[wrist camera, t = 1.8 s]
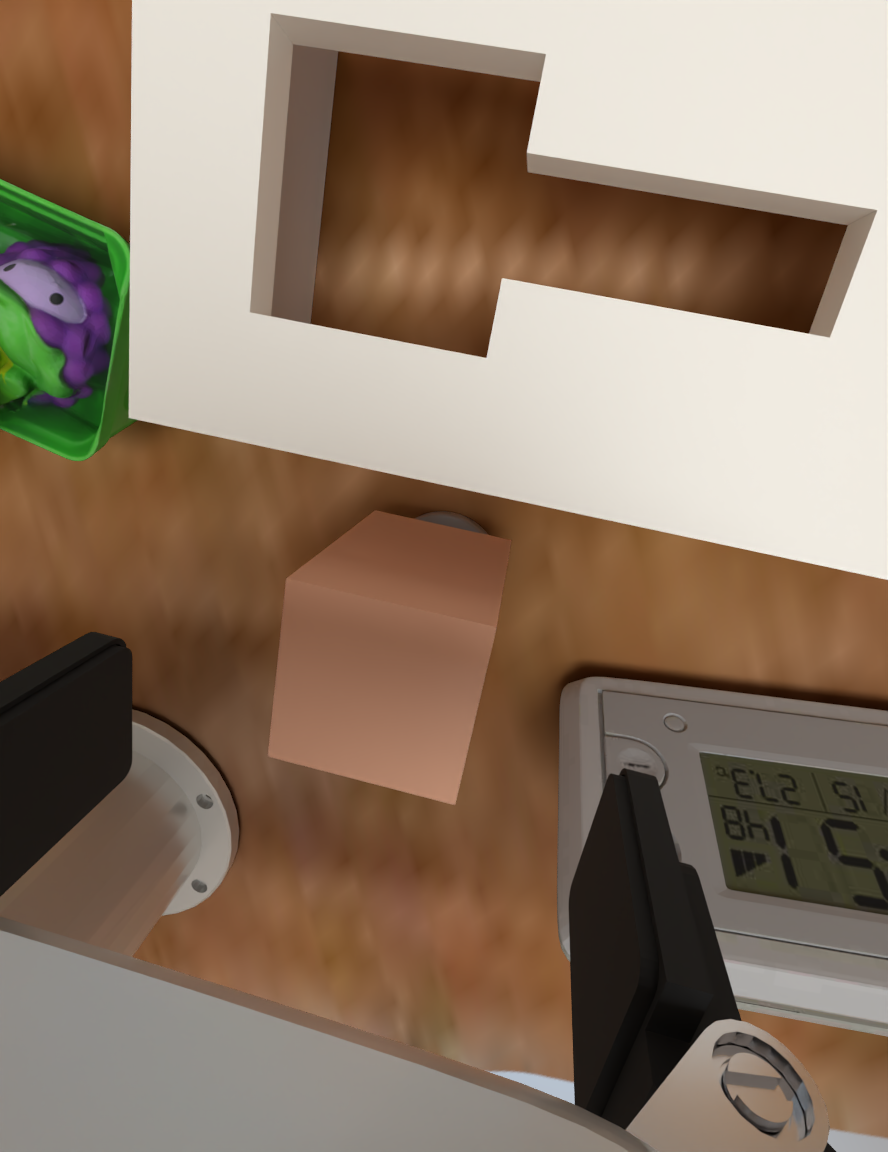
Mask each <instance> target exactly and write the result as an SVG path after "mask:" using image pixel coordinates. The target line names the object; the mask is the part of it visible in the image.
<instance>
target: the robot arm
mask: <svg viewBox="0 0 888 1152" xmlns="http://www.w3.org/2000/svg"><path fill="white" fill-rule="evenodd" d="M238 839H239V825H238V818H237V811H236V808H235V805H234V802H233V800H232V797H231V794H230V791H229V789H228V788H227V786H226V784H225V782H224V780H223V779H222V777H221V775H220V773H219V772H218V770H217V769H216V768H215V767H214V765H213V764H212V763H211V762H210V760H209V759H208V758H207V757H206V755H205V754H204V753H203V752H202V751H201V750H200V749H199V748H198V747H196V746H195V745H194V744H193V743H192V742H191V741H190V740H189V739H188V738H187V737H185V736H184V735H182V734H181V733H179V732H178V731H177V730H175V729H174V728H172V727H171V726H169V725H168V724H166V723H164V722H162V721H160V720H158V719H156V718H154V717H152V716H150V715H148V714H146V713H143V712H140V711H136V710H133V709H132V653H131V651H130V650H129V649H128V648H126V644H125V642H124V641H123V640H122V639H120V638H116V637H112V636H108V635H104V634H100V633H97V632H90V633H88V634H85V635H84V636H82V637H80V638H78V639H77V640H75V641H73V642H71V643H69V644H68V645H66V646H64V647H62V648H60V649H59V650H57V651H55V652H53V653H52V654H50V655H48V656H46V657H44V658H43V659H41V660H39V661H37V662H35V663H34V664H32V665H30V666H28V667H26V668H25V669H23V670H21V671H19V672H18V673H16V674H14V675H12V676H10V677H9V678H7V679H5V680H3V681H1V682H0V1152H836V1151H835V1150H834V1149H833V1148H832V1147H831V1146H830V1145H829V1144H828V1143H827V1140H828V1135H829V1129H830V1126H829V1120H828V1115H827V1109H826V1105H825V1103H824V1101H823V1099H822V1096H821V1094H820V1092H819V1090H818V1087H817V1085H816V1084H815V1082H814V1081H813V1079H812V1078H811V1076H810V1075H809V1073H808V1072H807V1070H806V1069H805V1067H804V1066H803V1064H802V1063H801V1062H800V1061H799V1060H798V1059H797V1058H796V1057H795V1056H794V1055H793V1054H792V1053H791V1052H790V1051H789V1050H788V1049H787V1048H786V1046H784V1045H783V1044H782V1043H780V1042H779V1041H778V1040H776V1039H775V1038H774V1037H772V1036H771V1035H770V1034H769V1033H767V1032H766V1031H764V1030H762V1029H760V1028H758V1027H755V1026H753V1025H751V1024H749V1023H747V1022H742V1021H741V1018H740V1014H739V1011H738V1008H737V1004H736V1001H735V997H734V994H733V991H732V987H731V984H730V980H729V977H728V974H727V970H726V967H725V963H724V960H723V957H722V953H721V950H720V946H719V943H718V940H717V936H716V933H715V929H714V926H713V923H712V919H711V916H710V912H709V909H708V906H707V902H706V899H705V895H704V892H703V889H702V885H701V882H700V878H699V876H698V873H697V871H696V869H695V868H694V867H693V866H692V865H690V864H686V863H682V862H679V860H678V856H677V852H676V849H675V845H674V841H673V837H672V833H671V830H670V826H669V822H668V818H667V814H666V810H665V807H664V803H663V799H662V795H661V791H660V787H659V784H658V780H657V778H656V777H655V776H653V775H649V774H645V773H642V772H638V771H634V770H630V769H626V768H624V769H622V770H621V772H620V774H619V775H616V774H612V773H611V774H609V776H608V778H607V781H606V784H605V787H604V790H603V793H602V796H601V798H600V801H599V804H598V807H597V810H596V813H595V816H594V819H593V822H592V825H591V828H590V831H589V834H588V837H587V840H586V843H585V845H584V848H583V851H582V854H581V857H580V860H579V863H578V866H577V869H576V872H575V875H574V878H573V881H572V884H571V888H570V894H569V937H570V967H571V998H572V1029H573V1060H574V1089H575V1105H574V1104H572V1103H569V1102H567V1101H564V1100H562V1099H559V1098H557V1097H554V1096H552V1095H549V1094H547V1093H544V1092H542V1091H539V1090H537V1089H534V1088H531V1087H529V1086H527V1085H524V1084H522V1083H519V1082H516V1081H512V1080H510V1079H507V1078H504V1077H501V1076H498V1075H495V1074H492V1073H489V1072H486V1071H484V1070H481V1069H478V1068H475V1067H472V1066H469V1065H466V1064H463V1063H460V1062H457V1061H454V1060H451V1059H448V1058H445V1057H443V1056H440V1055H437V1054H434V1053H431V1052H428V1051H425V1050H422V1049H419V1048H416V1047H413V1046H410V1045H407V1044H404V1043H401V1042H397V1041H394V1040H391V1039H388V1038H385V1037H382V1036H379V1035H376V1034H373V1033H369V1032H366V1031H363V1030H360V1029H357V1028H354V1027H351V1026H348V1025H344V1024H341V1023H338V1022H335V1021H332V1020H329V1019H326V1018H323V1017H320V1016H316V1015H313V1014H310V1013H307V1012H304V1011H301V1010H298V1009H295V1008H291V1007H288V1006H285V1005H282V1004H279V1003H276V1002H273V1001H270V1000H266V999H263V998H260V997H257V996H254V995H251V994H248V993H244V992H241V991H238V990H235V989H232V988H229V987H225V986H222V985H219V984H216V983H213V982H209V981H206V980H203V979H200V978H197V977H194V976H190V975H187V974H184V973H181V972H178V971H175V970H171V969H168V968H165V967H162V966H159V965H155V964H152V963H149V962H146V961H143V960H139V959H136V958H133V957H132V956H133V955H134V954H135V952H136V951H137V949H138V948H139V947H140V945H141V944H142V942H143V941H144V940H145V938H146V937H147V935H148V934H149V933H150V931H151V930H152V928H153V927H154V925H155V924H156V923H157V921H158V920H159V918H160V917H161V916H163V915H169V914H175V913H180V912H182V911H185V910H187V909H190V908H192V907H195V906H197V905H198V904H200V903H201V902H202V901H204V900H205V899H207V898H208V897H210V895H211V894H212V893H213V892H214V891H215V890H216V889H217V887H218V886H219V885H220V884H221V882H222V881H223V879H224V877H225V876H226V874H227V873H228V871H229V869H230V868H231V866H232V864H233V861H234V858H235V855H236V852H237V849H238Z"/></svg>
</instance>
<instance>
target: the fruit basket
mask: <svg viewBox="0 0 888 1152" xmlns="http://www.w3.org/2000/svg"><path fill="white" fill-rule="evenodd" d="M129 318H130V245H129V243H128V242H126V241H125V240H124V239H123V238H122V237H121V236H120V235H119V234H118V233H117V232H115V231H114V230H112V229H111V228H108V227H106V226H104V225H102V224H99V223H97V222H95V221H92V220H90V219H88V218H85V217H83V216H81V215H79V214H76V213H74V212H72V211H70V210H67V209H65V208H63V207H61V206H59V205H56V204H54V203H52V202H50V201H47V200H45V199H43V198H41V197H38V196H36V195H34V194H32V193H30V192H27V191H25V190H23V189H21V188H19V187H17V186H15V185H12V184H10V183H8V182H6V181H4V180H1V179H0V429H2V430H4V431H6V432H9V433H11V434H13V435H15V436H17V437H19V438H22V439H24V440H26V441H28V442H31V443H33V444H35V445H37V446H39V447H41V448H44V449H46V450H48V451H50V452H53V453H55V454H57V455H60V456H62V457H64V458H66V459H69V460H73V461H83V460H86V459H88V458H90V457H91V456H92V455H93V454H94V453H96V452H97V451H98V450H99V449H101V448H102V447H103V446H104V445H105V444H106V443H107V442H108V440H109V438H111V437H112V436H114V435H115V434H117V433H119V432H120V431H122V430H123V429H125V428H126V427H128V426H129V425H131V424H132V423H134V422H135V421H137V420H136V419H132V418H129Z"/></svg>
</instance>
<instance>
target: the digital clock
mask: <svg viewBox="0 0 888 1152" xmlns="http://www.w3.org/2000/svg"><path fill="white" fill-rule="evenodd" d="M624 768H626V769H630V770H634V771H638V772H642V773H645V774H649V775H653V776H655V777H656V778H657V780H658V784H659V787H660V791H661V795H662V799H663V803H664V807H665V810H666V814H667V818H668V822H669V826H670V830H671V833H672V837H673V841H674V845H675V849H676V852H677V856H678V860H679V862H682V863H686V864H690V865H692V866H693V867H694V868H695V869H696V871H697V873H698V876H699V878H700V882H701V885H702V889H703V892H704V895H705V899H706V902H707V906H708V909H709V912H710V916H711V919H712V923H713V926H714V929H715V933H716V936H717V940H718V943H719V946H720V950H721V953H722V957H723V960H724V963H725V967H726V970H727V974H728V977H729V980H730V984H731V987H732V991H733V994H734V997H735V1001H736V1004H737V1008H738V1009H742V1010H747V1011H753V1012H758V1013H764V1014H769V1015H774V1016H780V1017H785V1018H791V1019H796V1020H801V1021H807V1022H812V1023H818V1024H823V1025H829V1026H834V1027H839V1028H845V1029H850V1030H856V1031H861V1032H866V1033H872V1034H877V1035H883V1036H888V711H885V710H877V709H869V708H861V707H853V706H845V705H836V704H828V703H820V702H812V701H804V700H796V699H787V698H779V697H771V696H763V695H755V694H747V693H738V692H730V691H722V690H714V689H706V688H698V687H689V686H681V685H673V684H665V683H657V682H648V681H639V680H631V679H621V678H611V677H588V678H584V679H581V680H578V681H574V682H571V683H568V684H567V685H566V686H565V687H564V688H563V691H562V693H561V699H560V714H559V788H558V863H557V915H558V933H559V940H560V944H561V948H562V950H563V952H564V954H565V956H566V957H567V959H568V960H569V961H570V937H569V894H570V888H571V884H572V881H573V878H574V875H575V872H576V869H577V866H578V863H579V860H580V857H581V854H582V851H583V848H584V845H585V843H586V840H587V837H588V834H589V831H590V828H591V825H592V822H593V819H594V816H595V813H596V810H597V807H598V804H599V801H600V798H601V796H602V793H603V790H604V787H605V784H606V781H607V778H608V776H609V774H611V773H612V774H616V775H619V774H620V772H621V770H622V769H624Z"/></svg>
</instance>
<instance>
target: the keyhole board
mask: <svg viewBox="0 0 888 1152" xmlns="http://www.w3.org/2000/svg"><path fill="white" fill-rule="evenodd" d="M338 51H341V52H348V53H354V54H361V55H368V56H374V57H381V58H387V59H394V60H400V61H407V62H413V63H420V64H426V65H433V66H439V67H446V68H453V69H459V70H466V71H472V72H479V73H485V74H492V75H498V76H505V77H511V78H518V79H524V80H531V81H537V82H540V87H539V92H538V98H537V103H536V108H535V113H534V118H533V123H532V128H531V133H530V138H529V144H528V149H527V169H528V172H530V173H536V174H542V175H548V176H554V177H560V178H566V179H572V180H578V181H584V182H590V183H597V184H603V185H609V186H615V187H621V188H627V189H633V190H639V191H645V192H651V193H657V194H663V195H669V196H675V197H681V198H687V199H693V200H699V201H705V202H711V203H717V204H723V205H729V206H735V207H741V208H747V209H753V210H759V211H765V212H771V213H777V214H783V215H789V216H795V217H801V218H807V219H813V220H819V221H825V222H831V223H837V224H843V225H848V226H847V229H846V232H845V235H844V238H843V240H842V243H841V246H840V249H839V251H838V254H837V257H836V260H835V262H834V265H833V268H832V271H831V274H830V276H829V279H828V282H827V285H826V287H825V290H824V293H823V296H822V299H821V301H820V304H819V307H818V310H817V312H816V315H815V318H814V321H813V324H812V326H811V329H810V332H809V334H807V333H802V332H796V331H791V330H785V329H780V328H774V327H769V326H763V325H758V324H752V323H747V322H741V321H736V320H730V319H725V318H719V317H714V316H708V315H703V314H697V313H692V312H686V311H681V310H675V309H670V308H664V307H659V306H653V305H648V304H642V303H637V302H631V301H626V300H620V299H615V298H609V297H604V296H598V295H593V294H587V293H582V292H576V291H571V290H565V289H560V288H554V287H549V286H543V285H538V284H532V283H527V282H521V281H516V280H510V279H505V278H502V281H501V286H500V292H499V297H498V302H497V307H496V312H495V317H494V322H493V327H492V332H491V337H490V343H489V348H488V353H487V358H483V357H478V356H473V355H468V354H463V353H457V352H452V351H447V350H442V349H437V348H432V347H426V346H421V345H416V344H411V343H406V342H401V341H395V340H390V339H385V338H380V337H375V336H370V335H364V334H359V333H354V332H349V331H344V330H339V329H334V328H328V327H323V326H318V325H313V324H311V314H312V304H313V295H314V285H315V275H316V265H317V255H318V246H319V236H320V226H321V216H322V206H323V196H324V187H325V177H326V167H327V157H328V147H329V138H330V128H331V118H332V108H333V98H334V88H335V79H336V69H337V59H338ZM129 418H132V419H136V420H141V421H146V422H150V423H155V424H160V425H164V426H169V427H174V428H178V429H183V430H188V431H193V432H197V433H202V434H207V435H211V436H216V437H221V438H225V439H230V440H235V441H239V442H244V443H249V444H253V445H258V446H263V447H268V448H272V449H277V450H282V451H286V452H291V453H296V454H300V455H305V456H310V457H314V458H319V459H324V460H329V461H333V462H338V463H343V464H347V465H352V466H357V467H361V468H366V469H371V470H375V471H380V472H385V473H389V474H394V475H399V476H404V477H408V478H413V479H418V480H422V481H427V482H432V483H436V484H441V485H446V486H450V487H455V488H460V489H465V490H469V491H474V492H479V493H483V494H488V495H493V496H497V497H502V498H507V499H511V500H516V501H521V502H526V503H530V504H535V505H540V506H544V507H549V508H554V509H558V510H563V511H568V512H572V513H577V514H582V515H586V516H591V517H596V518H601V519H605V520H610V521H615V522H619V523H624V524H629V525H633V526H638V527H643V528H647V529H652V530H657V531H662V532H666V533H671V534H676V535H680V536H685V537H690V538H694V539H699V540H704V541H708V542H713V543H718V544H722V545H727V546H732V547H737V548H741V549H746V550H751V551H755V552H760V553H765V554H769V555H774V556H779V557H783V558H788V559H793V560H798V561H802V562H807V563H812V564H816V565H821V566H826V567H830V568H835V569H840V570H844V571H849V572H854V573H859V574H863V575H868V576H873V577H877V578H882V579H887V580H888V0H132V84H131V201H130V318H129Z"/></svg>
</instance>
